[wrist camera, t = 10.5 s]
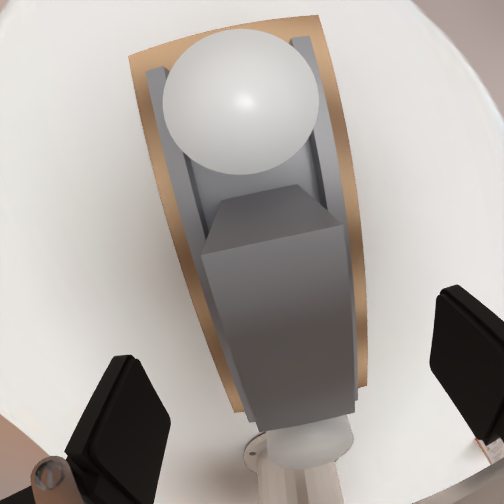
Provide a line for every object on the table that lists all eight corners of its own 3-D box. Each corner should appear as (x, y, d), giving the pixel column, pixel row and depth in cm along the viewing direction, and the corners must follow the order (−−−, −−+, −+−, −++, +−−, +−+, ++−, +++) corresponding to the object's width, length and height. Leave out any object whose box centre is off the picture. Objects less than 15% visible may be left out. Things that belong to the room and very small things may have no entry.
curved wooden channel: (343, 333, 27) (366, 385, 20) (236, 355, 27) (234, 412, 21) (297, 49, 19) (318, 15, 12) (161, 78, 19) (128, 56, 13)
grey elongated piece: (347, 373, 20) (383, 472, 12) (248, 393, 20) (251, 499, 12) (299, 51, 13) (352, -27, 5) (161, 82, 13) (80, 32, 5)
